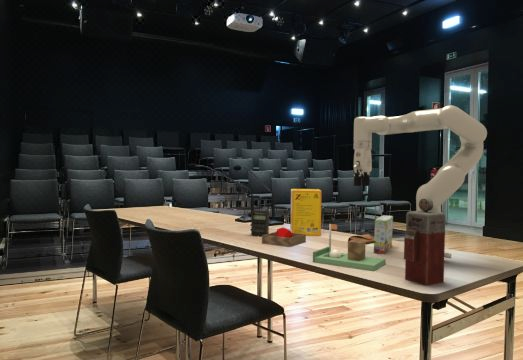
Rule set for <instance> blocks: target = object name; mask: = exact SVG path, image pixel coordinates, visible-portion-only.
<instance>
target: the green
mask: <svg viewBox="0 0 523 360" xmlns="http://www.w3.org/2000/svg"><path fill="white" fill-rule="evenodd" d="M328 225H329V227H328V228H329V229H328V230H329V231H328V233H329V234H328V246H326V247H323V248H320V249H317V250H315V251H312V263H316V264H317V263H318V264H323V263H324V265H330V264H331V266H337V267H345V268H350V267H351V268H352V269H358V270H364V271H371V272H374V271H376V270H378V269H379V268H382V267H383V266H384V265H386V258H382V257H376V256H375V257H373V256H367V255H365V259H363V260H361V261H355V260H348V253H342V252H340V253H341V258H331V257H329V253H330V252H331V251H332V230H338V224H333V223H329V224H328ZM351 268H350V269H351Z"/></svg>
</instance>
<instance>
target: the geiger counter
mask: <svg viewBox="0 0 523 360" xmlns="http://www.w3.org/2000/svg"><path fill="white" fill-rule="evenodd" d="M250 213H251V215H250V216H251V218H250V219H251V220H250V221H251V222H250V226H251V227H250V231H251V234H250V236H251V237H261V238H262V235H265V234H269V233H270V231H269V229H270V227H269V226H270V211H269V209H268V208H266V210H255V208H254V207H252V210H251V212H250Z"/></svg>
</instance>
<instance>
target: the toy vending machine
mask: <svg viewBox="0 0 523 360" xmlns="http://www.w3.org/2000/svg"><path fill="white" fill-rule="evenodd" d="M419 208H420V209H421V210H422V211H417V210H413V211H412V210H411V211H408V212H406V215H405V217H406V219H405V223H406V224H405V233H404V237H403V238H404V239H403V240H404V241H403V260H405V264H404V265H405V267H404V280H406V281H410V282H412V283H416V284H419V285H423V286H431V285H432V286H433V285H437V284H442V283H444V280H445V278H444V277H445V257H444V253H445V252H446V250H445V247H446V214H445V213H444V212H442V211H441V212H432V211H430V210H431V209H432V208H433V202H432V200H431V199H429V198H424V199H421V200H420V201H419Z"/></svg>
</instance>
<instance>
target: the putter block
mask: <svg viewBox="0 0 523 360" xmlns="http://www.w3.org/2000/svg"><path fill="white" fill-rule="evenodd" d="M365 243H366V241H362V240H351V241H348V240H347V254H348V260H355V261H361V260H363V259H365V256H366V245H365Z"/></svg>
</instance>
